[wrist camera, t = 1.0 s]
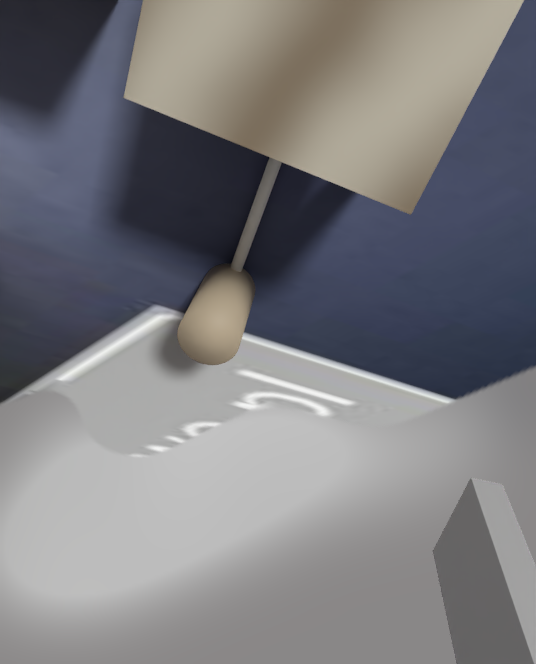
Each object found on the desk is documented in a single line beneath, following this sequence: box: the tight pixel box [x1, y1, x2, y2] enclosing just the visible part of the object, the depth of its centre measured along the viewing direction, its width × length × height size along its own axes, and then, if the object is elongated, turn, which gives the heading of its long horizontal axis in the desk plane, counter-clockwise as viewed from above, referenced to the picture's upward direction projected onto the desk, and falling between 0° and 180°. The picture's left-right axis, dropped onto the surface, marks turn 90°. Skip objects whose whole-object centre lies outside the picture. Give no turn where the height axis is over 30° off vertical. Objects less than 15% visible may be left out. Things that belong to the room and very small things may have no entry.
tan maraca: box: [177, 157, 282, 365], centre depth 24 cm, size 6×21×6 cm, turn 160°
